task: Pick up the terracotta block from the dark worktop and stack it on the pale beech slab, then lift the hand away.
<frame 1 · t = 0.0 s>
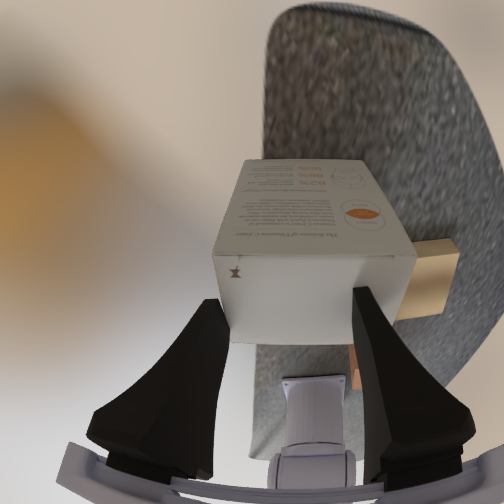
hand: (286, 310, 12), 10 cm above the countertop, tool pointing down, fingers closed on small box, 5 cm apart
block: (367, 326, 28), on the countertop
base slab: (409, 275, 23), on the countertop
small box: (304, 193, 20), on the countertop, touching gripper
when the fingers open (11 cm above the countertop, at t = 0.2 s): small box moves 5 cm, resting on base slab.
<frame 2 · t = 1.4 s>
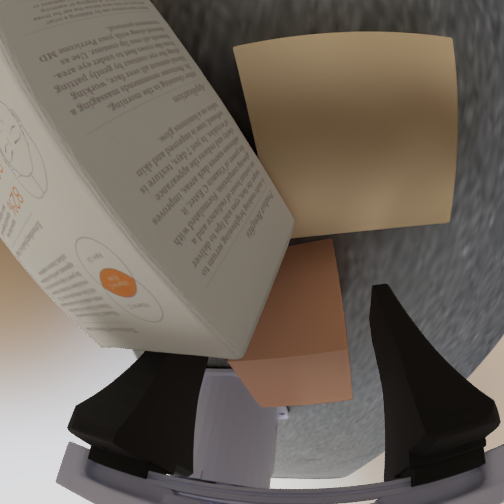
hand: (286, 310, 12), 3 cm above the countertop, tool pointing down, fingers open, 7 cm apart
block: (298, 277, 15), on the countertop
base slab: (353, 124, 10), on the countertop
small box: (19, 64, 6), point 4 cm above the countertop, touching base slab, gripper
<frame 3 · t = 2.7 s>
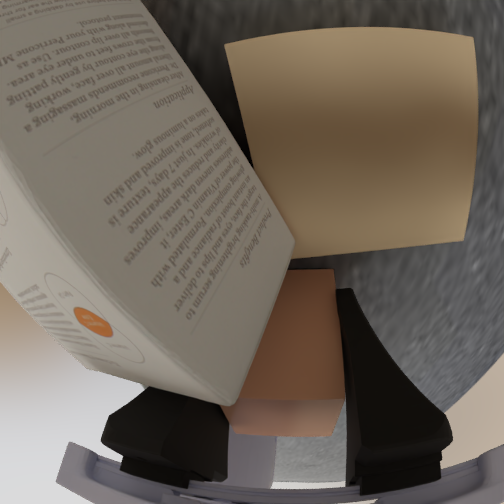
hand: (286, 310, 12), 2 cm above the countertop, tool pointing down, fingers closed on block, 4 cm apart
block: (288, 301, 14), on the countertop, touching gripper
base slab: (360, 131, 9), on the countertop
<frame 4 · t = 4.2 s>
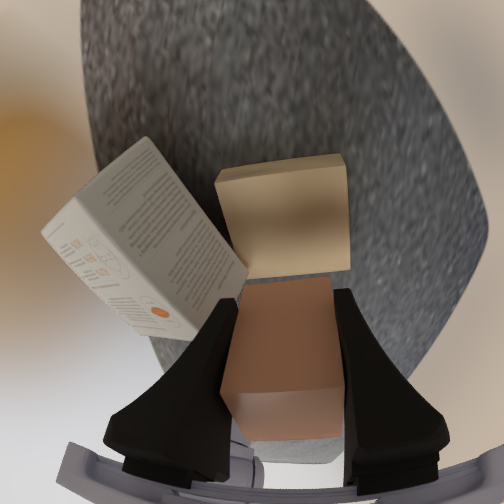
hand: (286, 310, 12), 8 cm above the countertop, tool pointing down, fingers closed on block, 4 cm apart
block: (291, 313, 15), point 7 cm above the countertop, tilted 7°, touching gripper
base slab: (289, 212, 19), on the countertop
small box: (82, 183, 14), point 4 cm above the countertop
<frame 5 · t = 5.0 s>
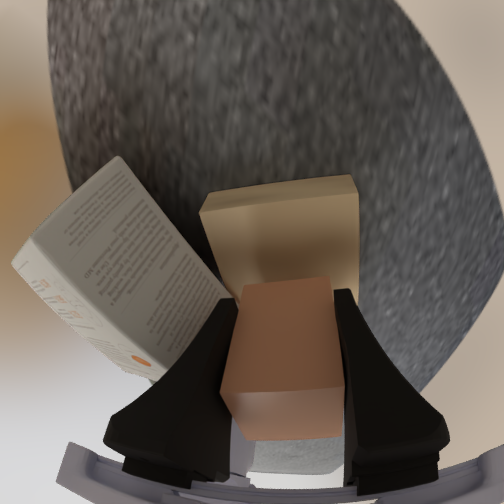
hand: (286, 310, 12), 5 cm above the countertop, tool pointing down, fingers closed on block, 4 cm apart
block: (291, 312, 15), point 3 cm above the countertop, tilted 7°, touching gripper
base slab: (288, 241, 16), on the countertop
small box: (49, 210, 12), point 4 cm above the countertop, touching base slab
when the fingers open (5 cm above the countertop, at t = 5.5 s): block drops 1 cm, resting on base slab.
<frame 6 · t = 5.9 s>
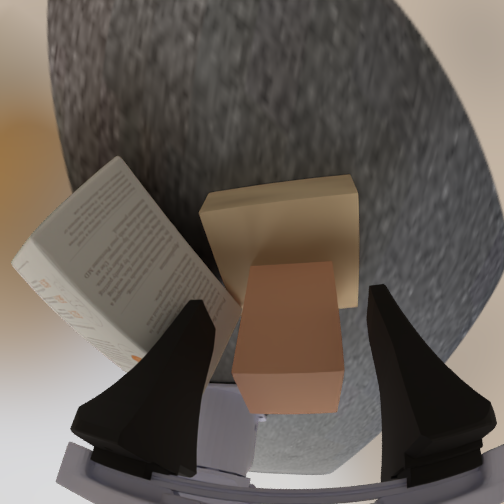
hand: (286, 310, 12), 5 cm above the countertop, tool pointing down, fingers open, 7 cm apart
block: (294, 292, 16), point 2 cm above the countertop, touching base slab
base slab: (288, 241, 16), on the countertop
small box: (49, 211, 12), point 4 cm above the countertop, touching base slab, gripper
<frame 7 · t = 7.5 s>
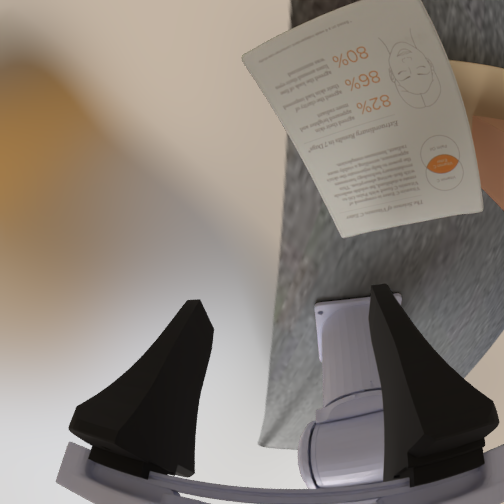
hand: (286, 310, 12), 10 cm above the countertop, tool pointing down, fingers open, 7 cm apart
block: (493, 147, 13), point 2 cm above the countertop, touching base slab
base slab: (478, 111, 14), on the countertop
small box: (327, 11, 10), point 4 cm above the countertop, touching base slab
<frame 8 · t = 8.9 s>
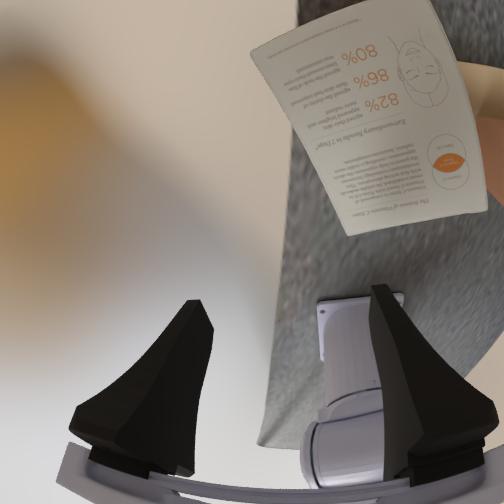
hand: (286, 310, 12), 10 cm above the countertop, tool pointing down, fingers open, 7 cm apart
block: (496, 148, 13), point 2 cm above the countertop, touching base slab
base slab: (481, 112, 14), on the countertop
small box: (335, 9, 10), point 4 cm above the countertop, touching base slab
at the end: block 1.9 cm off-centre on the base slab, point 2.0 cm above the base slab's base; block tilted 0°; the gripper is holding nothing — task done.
